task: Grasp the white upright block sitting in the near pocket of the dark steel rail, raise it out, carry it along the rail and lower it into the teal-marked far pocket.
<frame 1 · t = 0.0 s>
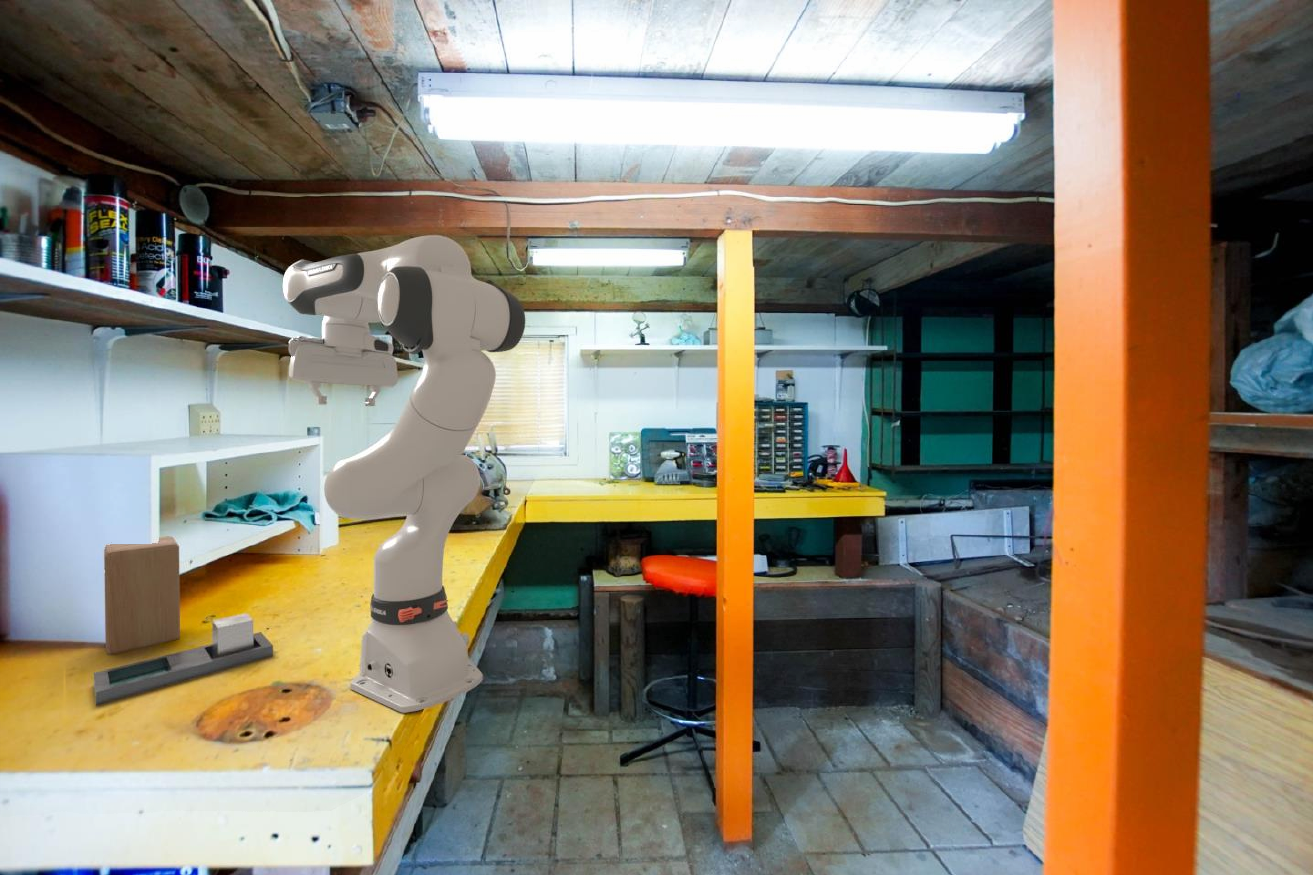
hand: (346, 405, 109), 48 cm above the worktop, fingers open, 8 cm apart
white upright block: (233, 657, 92), point 1 cm above the worktop, touching rail
wooden block: (143, 643, 100), on the worktop
rail: (189, 672, 88), on the worktop
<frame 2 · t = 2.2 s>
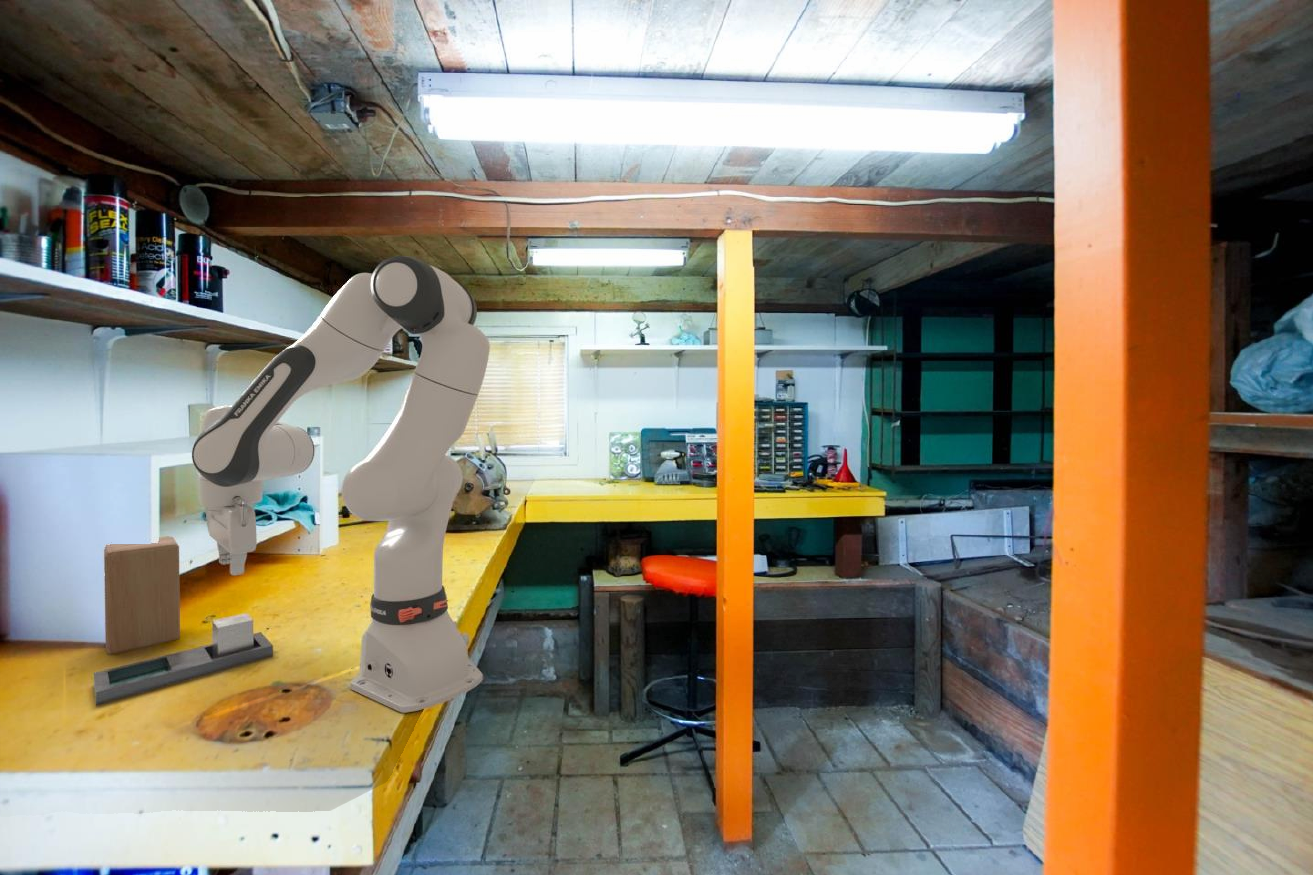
hand: (231, 568, 92), 17 cm above the worktop, fingers open, 8 cm apart
nothing on the worktop moved.
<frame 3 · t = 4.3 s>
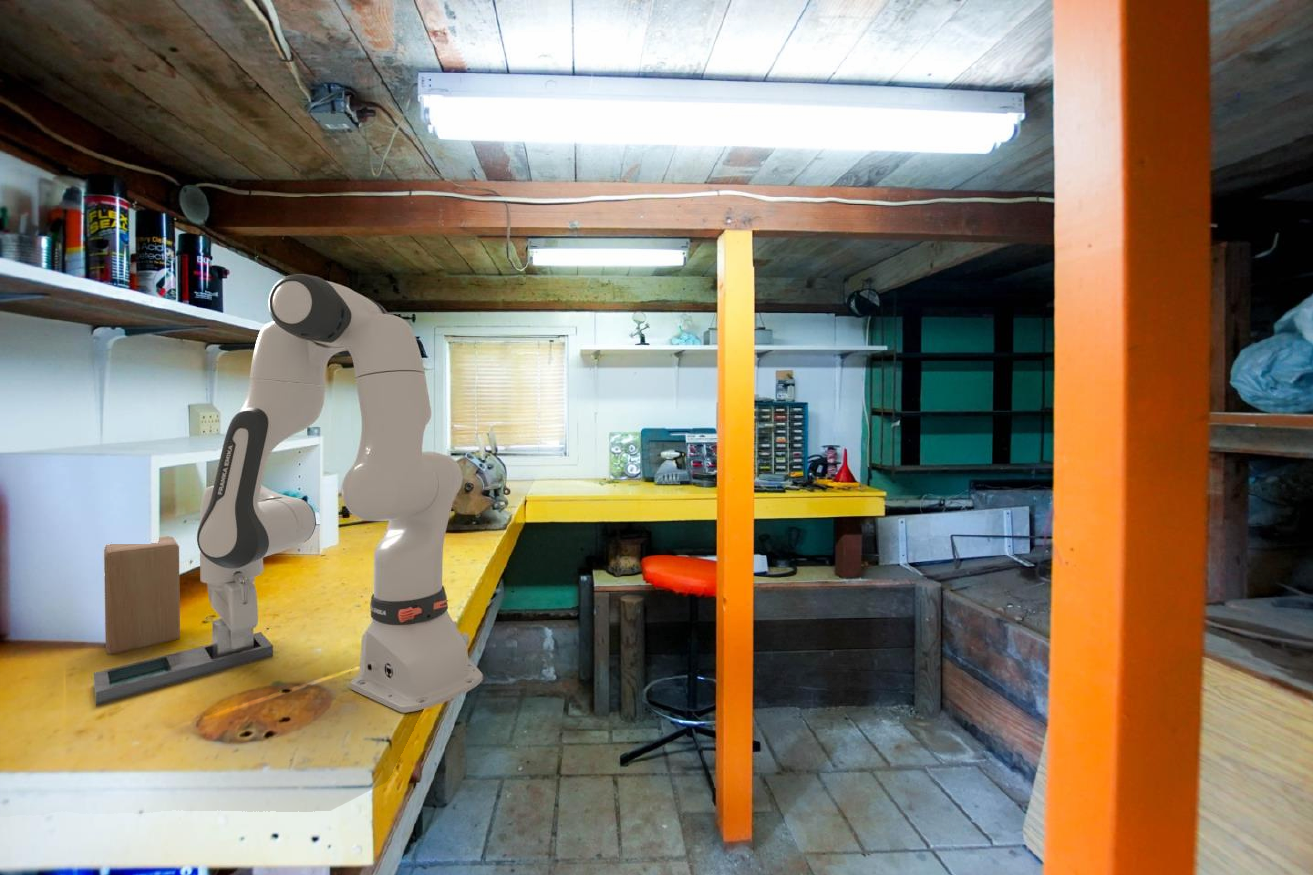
hand: (233, 641, 92), 4 cm above the worktop, fingers closed on white upright block, 5 cm apart
white upright block: (233, 657, 92), point 1 cm above the worktop, touching gripper, rail
everything else where it was.
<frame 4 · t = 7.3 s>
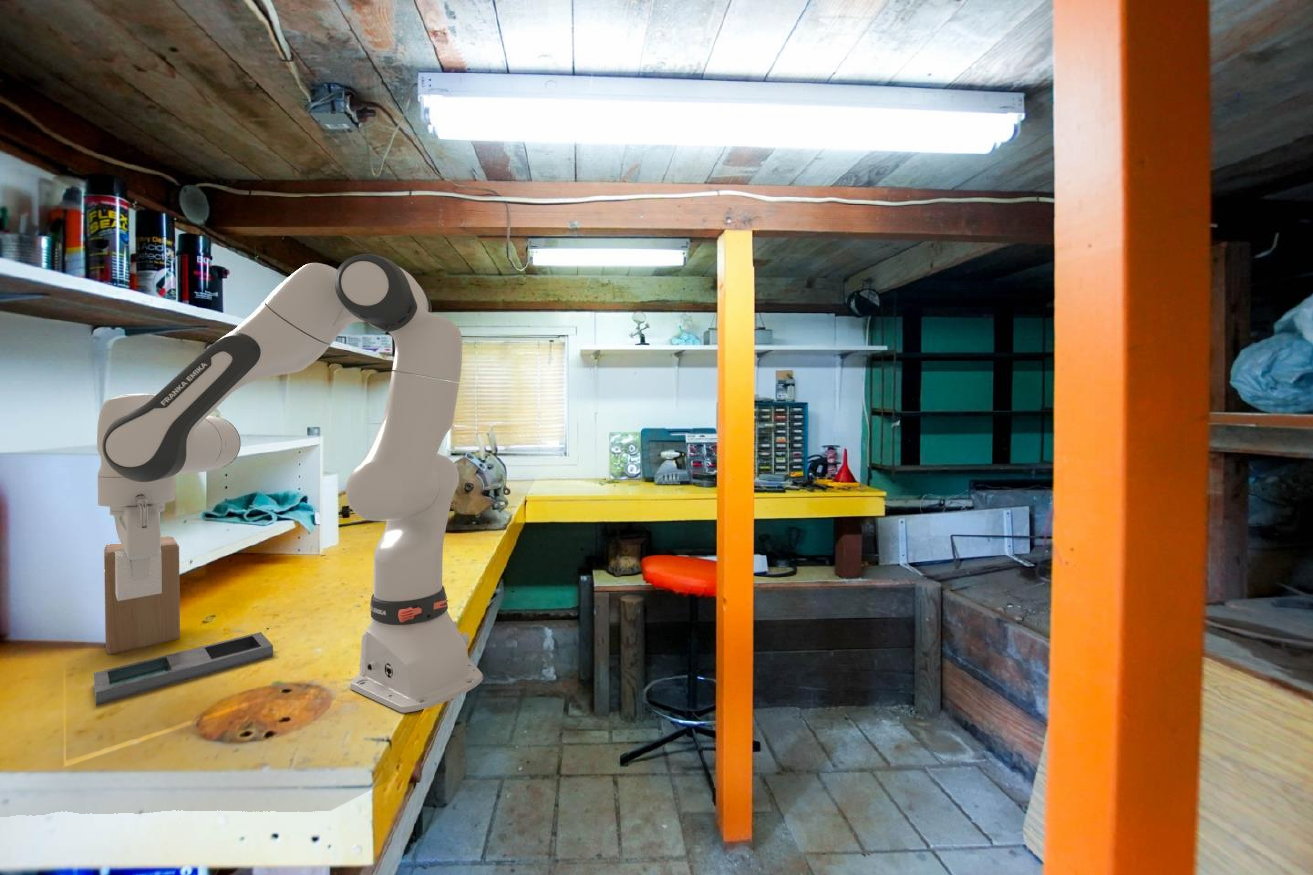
hand: (138, 575, 83), 19 cm above the worktop, fingers closed on white upright block, 5 cm apart
white upright block: (138, 593, 83), point 16 cm above the worktop, touching gripper
everything else where it was.
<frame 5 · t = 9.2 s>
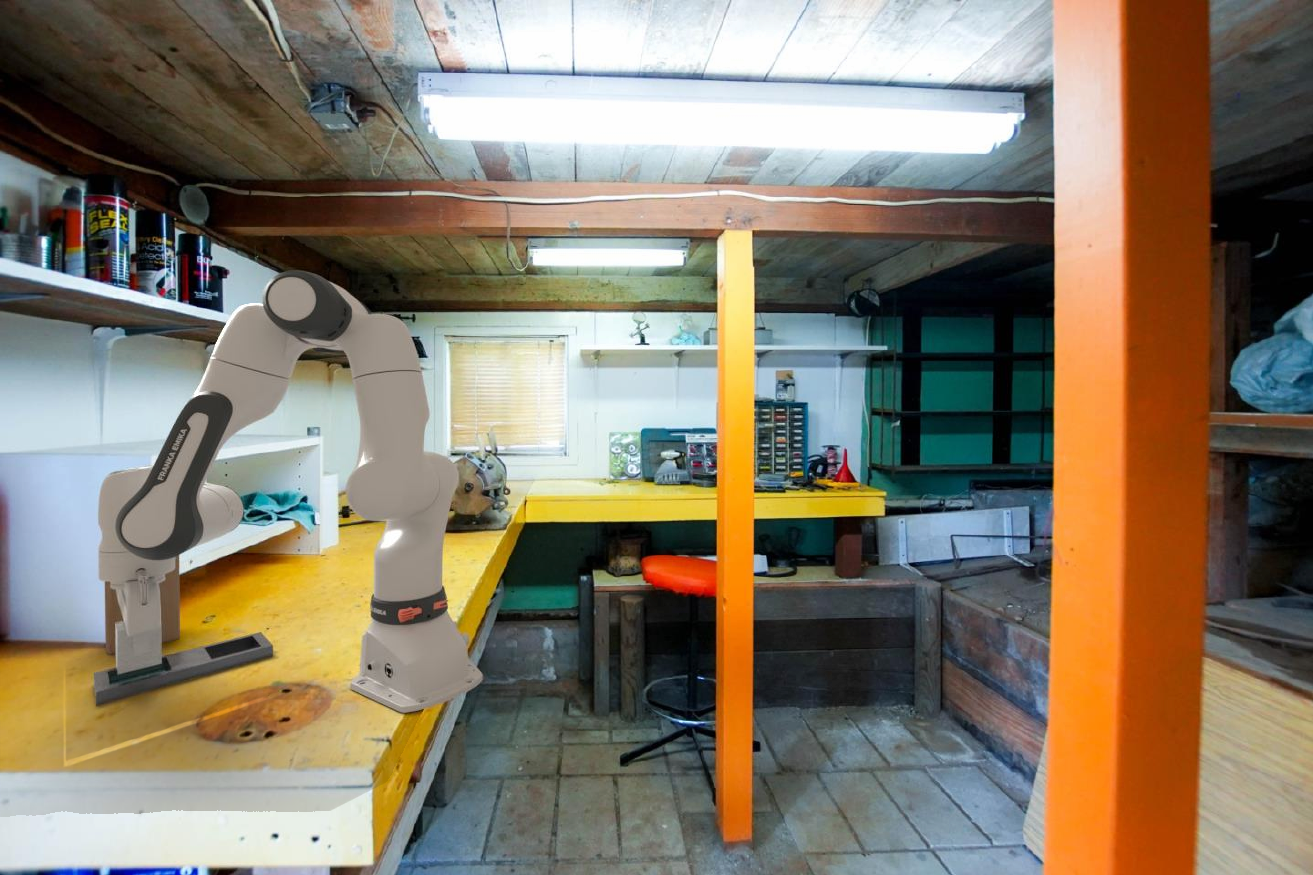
hand: (138, 646, 83), 7 cm above the worktop, fingers closed on white upright block, 5 cm apart
white upright block: (138, 663, 83), point 4 cm above the worktop, touching gripper
everything else where it was.
when the fingers open (5 cm above the worktop, at t = 10.6 s): white upright block stays where it is, resting on rail.
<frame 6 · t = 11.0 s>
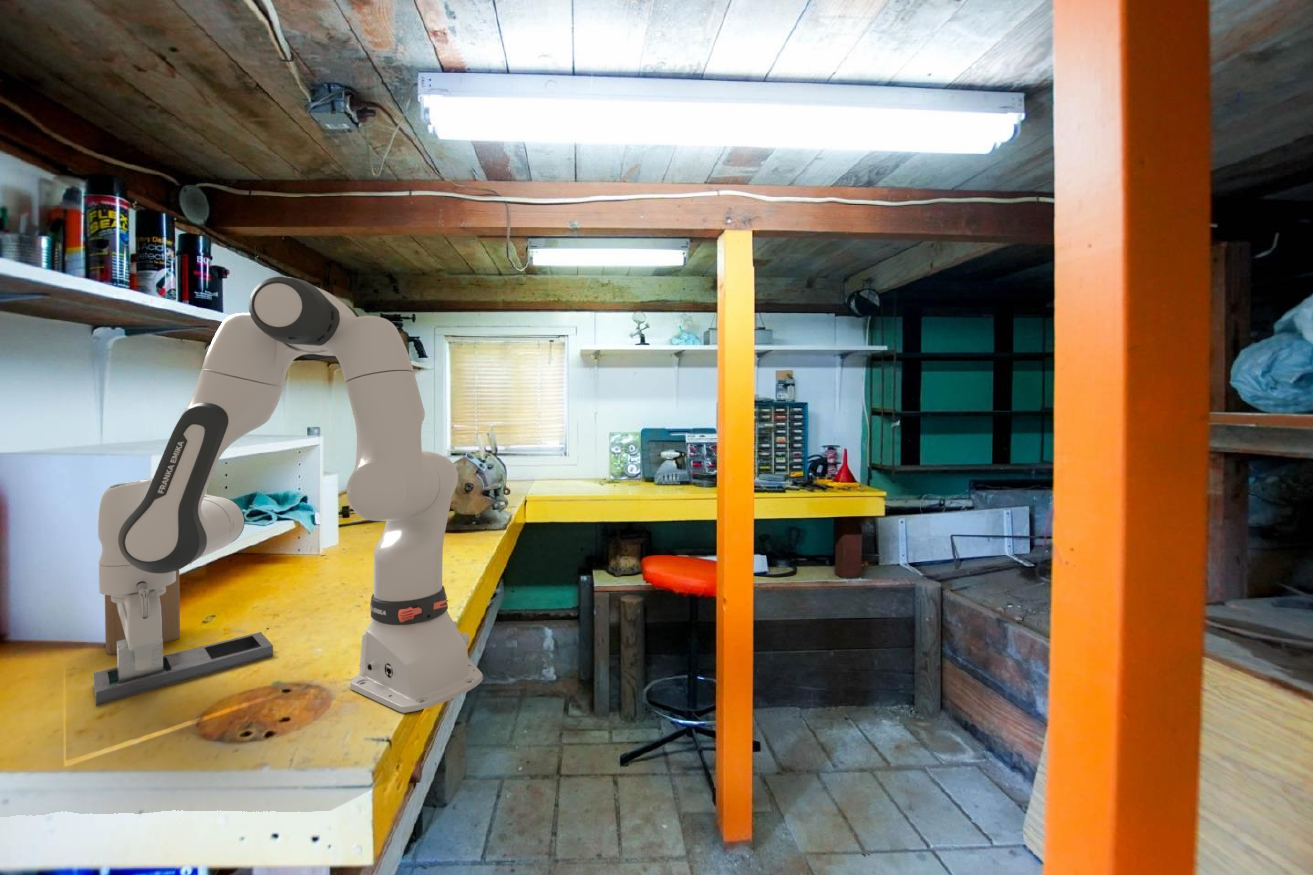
hand: (140, 658, 83), 5 cm above the worktop, fingers open, 8 cm apart
white upright block: (140, 682, 83), point 1 cm above the worktop, touching rail
everything else where it was.
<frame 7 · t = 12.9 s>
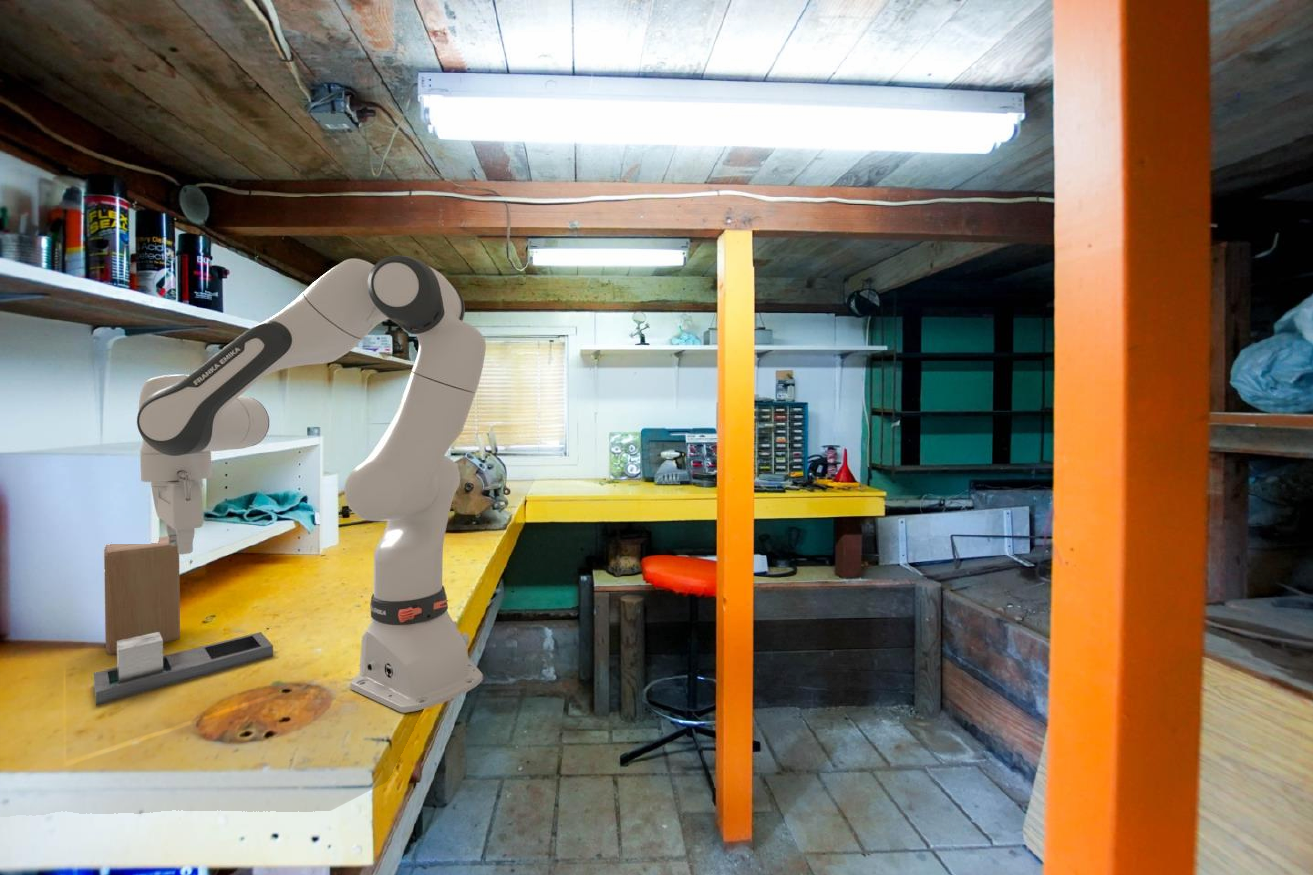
hand: (180, 549, 87), 22 cm above the worktop, fingers open, 8 cm apart
nothing on the worktop moved.
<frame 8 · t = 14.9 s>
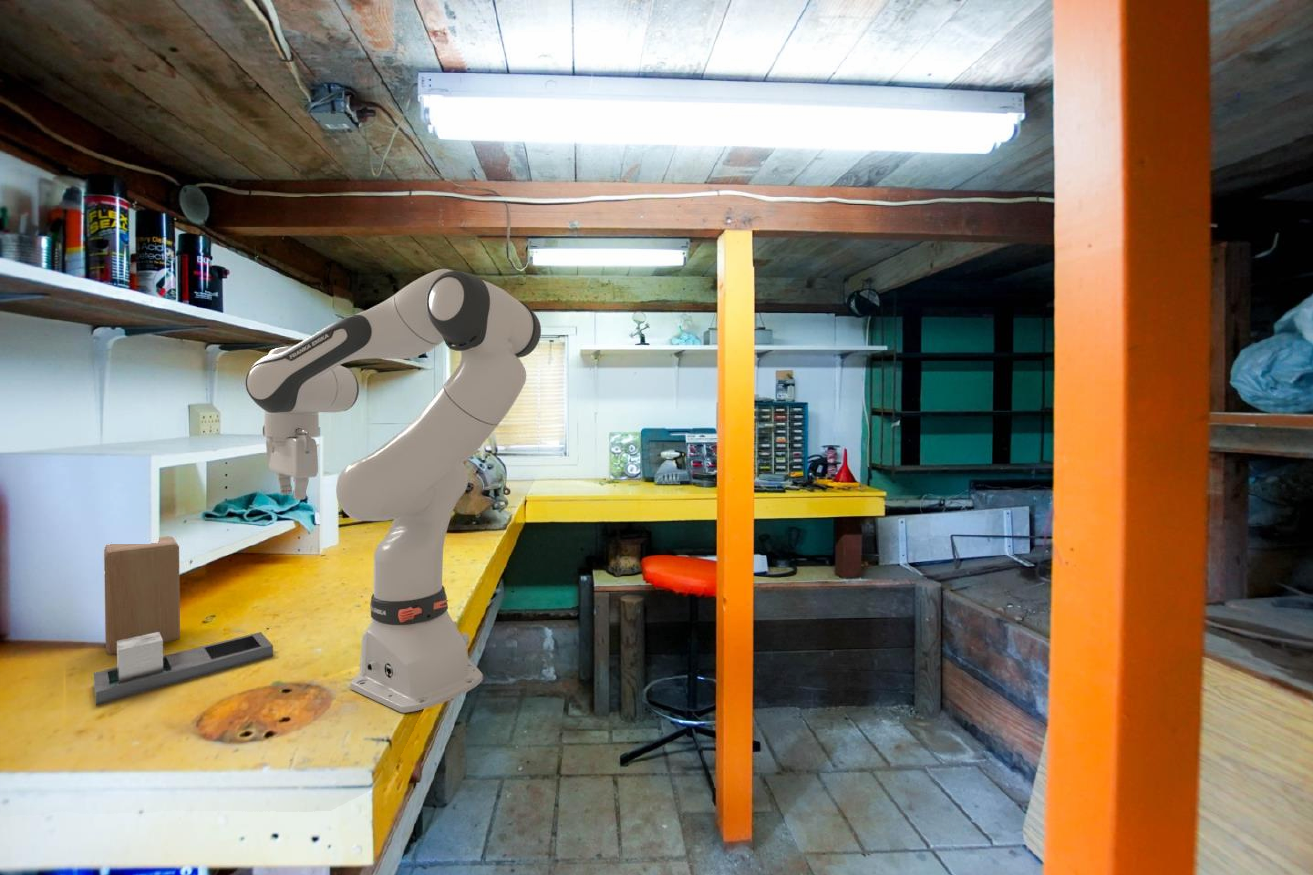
hand: (292, 496, 101), 29 cm above the worktop, fingers open, 8 cm apart
nothing on the worktop moved.
at the end: white upright block 0.1 cm from the target spot on the rail, point 0.7 cm above the rail's base; white upright block tilted 0°; the gripper is holding nothing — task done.
